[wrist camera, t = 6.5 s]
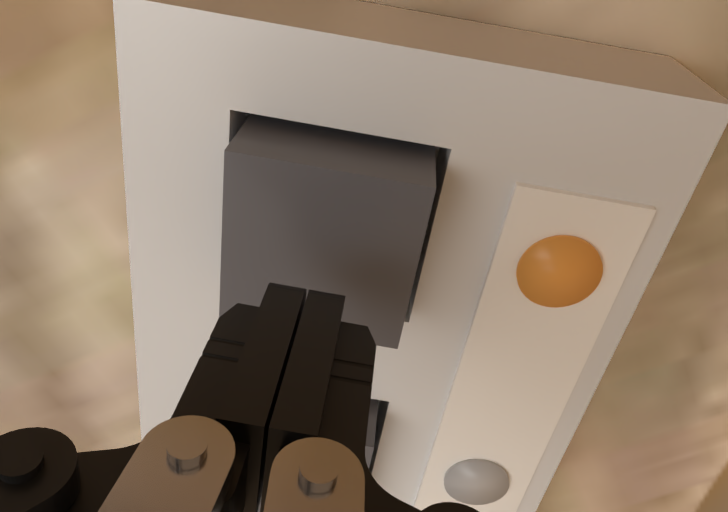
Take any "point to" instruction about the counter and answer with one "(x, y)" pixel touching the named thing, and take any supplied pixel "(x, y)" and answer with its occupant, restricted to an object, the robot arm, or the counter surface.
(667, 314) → the counter surface
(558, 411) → the button panel
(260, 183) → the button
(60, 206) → the counter surface
